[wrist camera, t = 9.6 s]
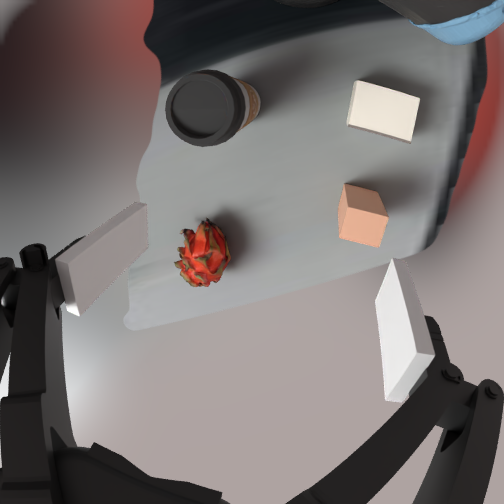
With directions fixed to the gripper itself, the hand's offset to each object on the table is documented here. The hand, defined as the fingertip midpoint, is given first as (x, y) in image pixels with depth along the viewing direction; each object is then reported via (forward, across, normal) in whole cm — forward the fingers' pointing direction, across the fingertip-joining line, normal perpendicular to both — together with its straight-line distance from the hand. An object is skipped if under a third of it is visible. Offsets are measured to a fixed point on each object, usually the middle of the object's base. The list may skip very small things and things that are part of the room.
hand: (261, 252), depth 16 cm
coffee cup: (+31, -10, +5) cm, 33 cm away
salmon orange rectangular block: (+31, +9, -6) cm, 32 cm away
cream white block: (+31, +9, +8) cm, 33 cm away
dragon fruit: (+31, -12, -18) cm, 38 cm away
